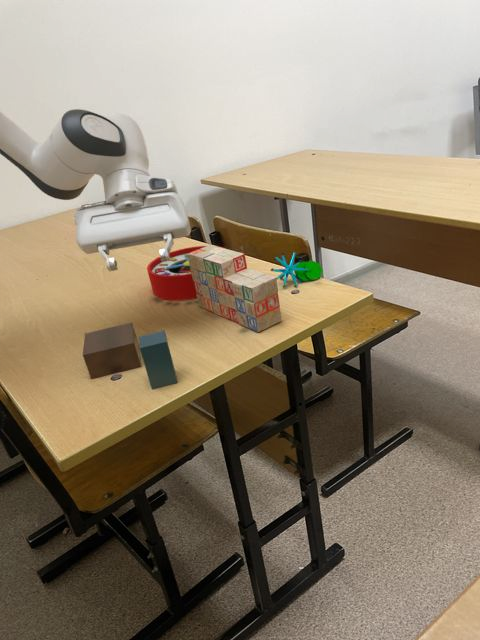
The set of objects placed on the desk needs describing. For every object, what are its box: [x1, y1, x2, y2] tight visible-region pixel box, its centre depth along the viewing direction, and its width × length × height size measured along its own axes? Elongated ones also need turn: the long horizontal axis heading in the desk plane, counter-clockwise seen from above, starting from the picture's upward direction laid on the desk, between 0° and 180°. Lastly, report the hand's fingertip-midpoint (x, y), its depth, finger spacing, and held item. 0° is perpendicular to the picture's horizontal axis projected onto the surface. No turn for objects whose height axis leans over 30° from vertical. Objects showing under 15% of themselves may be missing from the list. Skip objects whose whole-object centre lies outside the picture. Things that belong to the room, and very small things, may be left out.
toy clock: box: [146, 245, 227, 302], centre depth 127 cm, size 20×6×20 cm
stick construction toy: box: [270, 252, 323, 289], centre depth 120 cm, size 12×7×8 cm
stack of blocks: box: [187, 244, 282, 333], centre depth 106 cm, size 21×6×12 cm, turn 39°
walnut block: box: [82, 322, 142, 380], centre depth 97 cm, size 9×9×5 cm
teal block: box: [138, 330, 178, 390], centre depth 88 cm, size 4×4×8 cm
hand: (139, 264), depth 94 cm, fingers open, 8 cm apart
